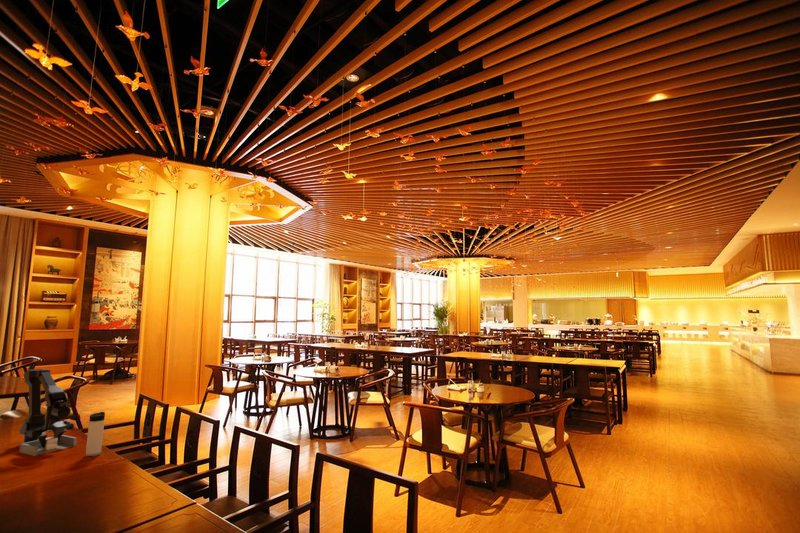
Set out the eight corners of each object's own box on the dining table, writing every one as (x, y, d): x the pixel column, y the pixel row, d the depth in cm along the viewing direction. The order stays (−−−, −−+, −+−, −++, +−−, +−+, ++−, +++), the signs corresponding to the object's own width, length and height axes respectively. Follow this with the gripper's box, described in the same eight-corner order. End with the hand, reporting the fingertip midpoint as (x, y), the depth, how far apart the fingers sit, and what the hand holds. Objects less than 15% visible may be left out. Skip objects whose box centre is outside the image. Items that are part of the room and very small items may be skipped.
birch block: (41, 449, 211) (42, 439, 211) (51, 446, 215) (52, 436, 216) (46, 450, 209) (47, 440, 210) (56, 448, 213) (57, 437, 214)
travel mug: (104, 453, 208) (108, 412, 211) (93, 457, 202) (98, 414, 205) (93, 452, 209) (97, 411, 212) (82, 456, 203) (86, 414, 205)
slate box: (19, 453, 206) (20, 443, 207) (61, 443, 223) (62, 434, 224) (34, 456, 201) (35, 447, 202) (75, 446, 218) (76, 437, 219)
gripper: (40, 421, 202) (36, 454, 200) (82, 413, 219) (78, 444, 217) (27, 418, 207) (23, 451, 205) (69, 411, 224) (66, 441, 222)
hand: (49, 447), depth 212 cm, fingers closed on birch block, 4 cm apart
